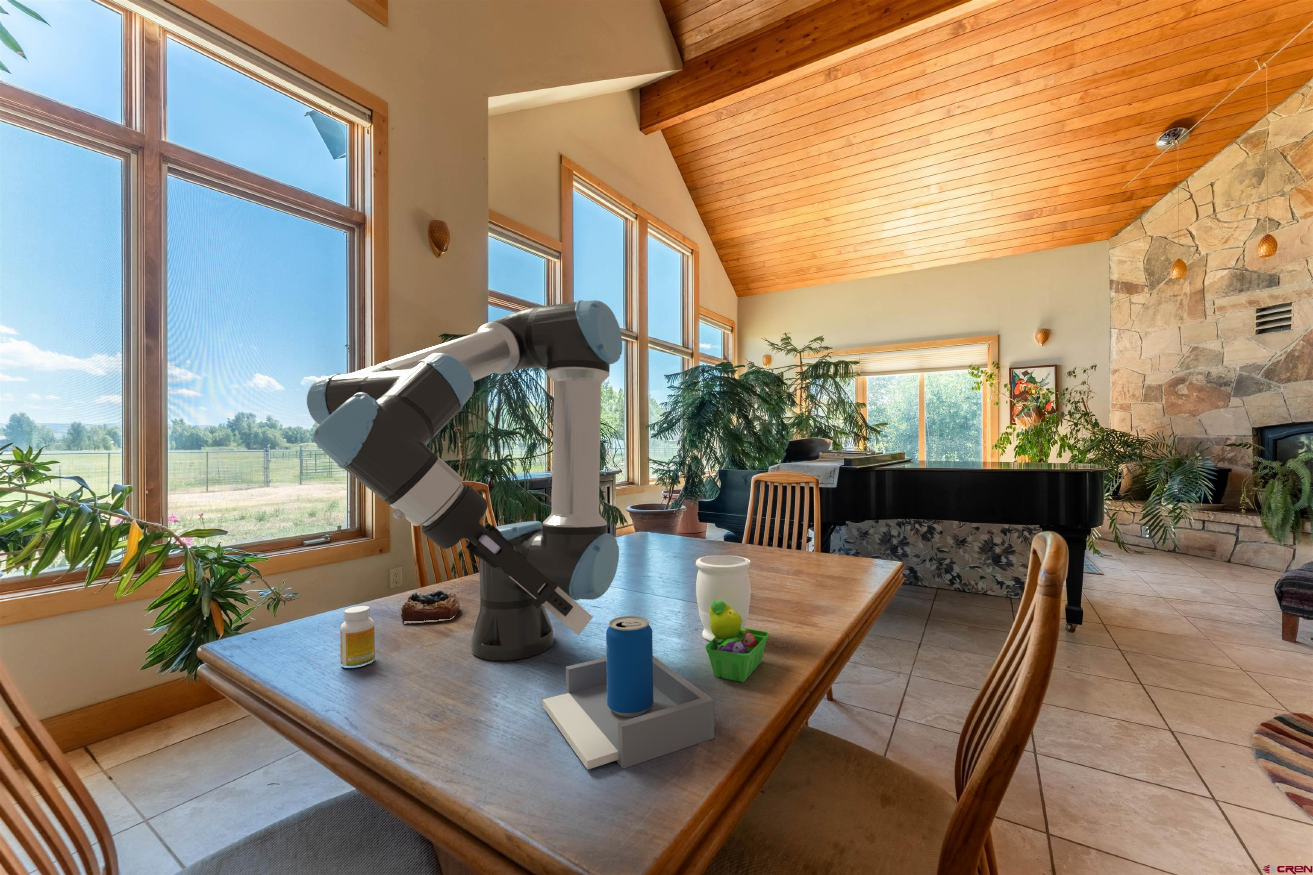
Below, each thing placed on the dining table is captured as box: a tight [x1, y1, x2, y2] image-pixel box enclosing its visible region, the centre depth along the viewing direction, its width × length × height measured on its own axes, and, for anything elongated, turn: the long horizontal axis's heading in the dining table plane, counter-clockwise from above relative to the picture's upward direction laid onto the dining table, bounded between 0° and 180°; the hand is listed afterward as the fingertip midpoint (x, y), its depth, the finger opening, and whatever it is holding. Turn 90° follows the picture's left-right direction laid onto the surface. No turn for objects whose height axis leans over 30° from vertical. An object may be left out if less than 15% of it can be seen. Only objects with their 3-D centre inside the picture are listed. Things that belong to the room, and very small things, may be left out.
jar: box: [695, 554, 752, 642], centre depth 108 cm, size 11×10×15 cm
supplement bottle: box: [339, 605, 376, 666], centre depth 98 cm, size 5×5×10 cm
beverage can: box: [605, 615, 654, 717], centre depth 77 cm, size 6×6×12 cm
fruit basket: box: [705, 600, 770, 683], centre depth 93 cm, size 11×9×11 cm
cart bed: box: [542, 655, 715, 770], centre depth 77 cm, size 20×17×5 cm
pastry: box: [400, 590, 461, 622], centre depth 124 cm, size 11×12×6 cm
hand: (565, 610), depth 73 cm, fingers open, 13 cm apart
